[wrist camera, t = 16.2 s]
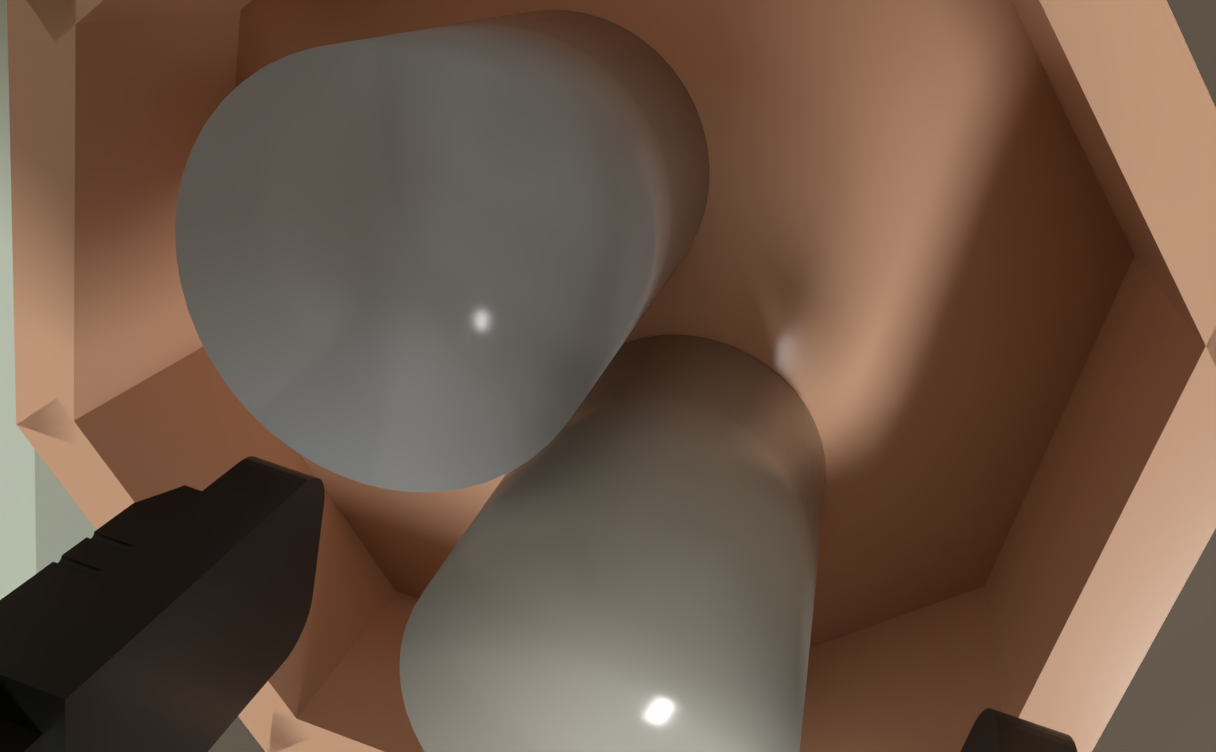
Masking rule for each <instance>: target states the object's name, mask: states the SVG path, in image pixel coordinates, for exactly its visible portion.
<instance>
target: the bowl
mask: <svg viewBox="0 0 1216 752" xmlns="http://www.w3.org/2000/svg"><path fill="white" fill-rule="evenodd" d="M540 10H568V11H575V12H581V13H587V14H590V15H593V16H596V17H600V18H603V19H606V20H608V21H610V22H612V23H615V24H617V25H619V26H621V27H623V28H625V29H627V30H628V31H630V32H631V33H633V34H635V35H636V36H638V37H639V38H641V39H642V40H644V41H645V42H646V43H647V44H648V45H649V46H651V47H652V48H653V49H654V50H655V51H657V52H658V53H659V54H660V55H661V56H662V58H663V59H664V60H665V61H666V62H667V63H668V64H669V65H670V66H671V67H672V69H673V70H674V71H675V73H676V74H677V75H678V77H679V78H680V80H681V81H682V83H683V84H684V86H685V87H686V89H687V91H688V93H689V95H690V97H691V98H692V100H693V102H694V104H695V106H696V109H697V112H698V114H699V117H700V120H701V123H702V125H703V129H704V133H705V138H706V142H707V147H708V157H709V167H710V170H709V191H708V197H707V203H706V208H705V212H704V215H703V218H702V222H701V225H700V228H699V230H698V232H697V234H696V237H695V239H694V241H693V243H692V245H691V247H690V248H689V250H688V251H687V253H686V255H685V256H684V258H683V259H682V261H681V262H680V264H679V265H678V267H677V268H676V269H675V271H674V272H673V274H672V275H671V277H670V278H669V279H668V281H667V282H666V284H665V285H664V286H663V288H662V289H661V291H660V292H659V294H658V295H657V296H656V298H655V299H654V301H653V302H652V304H651V305H650V306H649V308H648V309H647V311H646V312H645V313H644V315H643V316H642V318H641V319H640V321H639V322H638V323H637V325H636V326H635V328H634V329H633V331H632V332H631V333H630V335H629V336H628V338H627V339H626V340H625V342H624V343H628V342H631V341H634V340H637V339H641V338H647V337H653V336H659V335H687V336H698V337H703V338H707V339H712V340H716V341H719V342H722V343H725V344H728V345H731V346H734V347H736V348H738V349H740V350H742V351H744V352H746V353H748V354H751V355H753V356H754V357H756V358H757V359H759V360H760V361H762V362H763V363H765V364H766V365H768V366H769V367H771V368H772V369H773V370H774V371H775V372H776V373H778V374H779V375H780V376H781V377H782V378H784V379H785V381H786V382H787V383H788V384H789V385H790V386H791V387H792V388H793V389H794V390H795V391H796V393H797V394H798V395H799V397H800V398H801V400H802V401H803V402H804V404H805V405H806V407H807V408H808V410H809V412H810V414H811V416H812V418H813V420H814V422H815V424H816V426H817V429H818V432H819V434H820V437H821V440H822V444H823V449H824V454H825V462H826V483H825V494H824V504H823V514H822V525H821V535H820V545H819V556H818V566H817V576H816V587H815V597H814V607H813V618H812V628H811V639H810V649H809V659H808V670H807V680H806V690H805V701H804V711H803V721H802V732H801V742H800V752H960V751H961V749H962V747H963V745H964V743H965V741H966V739H967V737H968V735H969V733H970V731H971V729H972V726H973V725H974V723H975V721H976V719H977V718H978V716H979V715H980V714H981V712H982V711H984V710H985V709H987V708H991V709H994V710H997V711H1000V712H1003V713H1006V714H1009V715H1012V716H1014V717H1017V718H1020V719H1023V720H1026V721H1029V722H1032V723H1035V724H1038V725H1041V726H1044V727H1047V728H1050V729H1053V730H1056V731H1059V732H1062V733H1065V734H1067V735H1070V736H1071V737H1072V738H1073V740H1074V742H1075V745H1076V748H1077V752H1092V751H1093V749H1094V747H1095V745H1096V743H1097V742H1098V740H1099V738H1100V736H1101V734H1102V733H1103V731H1104V729H1105V727H1106V725H1107V723H1108V722H1109V720H1110V718H1111V716H1112V714H1113V713H1114V711H1115V709H1116V707H1117V705H1118V704H1119V702H1120V700H1121V698H1122V696H1123V695H1124V693H1125V691H1126V689H1127V687H1128V686H1129V684H1130V682H1131V680H1132V678H1133V676H1134V675H1135V673H1136V671H1137V669H1138V667H1139V666H1140V664H1141V662H1142V660H1143V658H1144V657H1145V655H1146V653H1147V651H1148V649H1149V648H1150V646H1151V644H1152V642H1153V640H1154V639H1155V637H1156V635H1157V633H1158V631H1159V629H1160V628H1161V626H1162V624H1163V622H1164V620H1165V619H1166V617H1167V615H1168V613H1169V611H1170V610H1171V608H1172V606H1173V604H1174V602H1175V601H1176V599H1177V597H1178V595H1179V593H1180V592H1181V590H1182V588H1183V586H1184V584H1185V582H1186V581H1187V579H1188V577H1189V575H1190V573H1191V572H1192V570H1193V568H1194V566H1195V564H1196V563H1197V561H1198V559H1199V557H1200V555H1201V554H1202V552H1203V550H1204V548H1205V546H1206V545H1207V543H1208V541H1209V539H1210V537H1211V536H1212V534H1213V532H1214V530H1215V528H1216V108H1215V106H1214V103H1213V101H1212V99H1211V97H1210V95H1209V92H1208V90H1207V88H1206V86H1205V84H1204V81H1203V79H1202V77H1201V75H1200V73H1199V70H1198V68H1197V66H1196V64H1195V62H1194V60H1193V57H1192V55H1191V53H1190V51H1189V49H1188V46H1187V44H1186V42H1185V40H1184V38H1183V35H1182V33H1181V31H1180V29H1179V27H1178V24H1177V22H1176V20H1175V18H1174V16H1173V13H1172V11H1171V9H1170V7H1169V5H1168V2H1167V0H7V24H8V70H9V116H10V162H11V208H12V253H13V299H14V345H15V391H16V425H17V426H18V428H19V429H20V430H21V432H22V433H23V434H24V435H25V437H26V438H27V439H28V441H29V442H30V443H31V445H32V446H33V447H34V449H35V450H36V451H37V453H38V454H39V455H40V456H41V458H42V459H43V460H44V462H45V463H46V464H47V466H48V467H49V468H50V470H51V471H52V472H53V474H54V475H55V476H56V477H57V479H58V480H59V481H60V483H61V484H62V485H63V487H64V488H65V489H66V491H67V492H68V493H69V495H70V496H71V497H72V499H73V500H74V501H75V502H76V504H77V505H78V506H79V508H80V509H81V510H82V512H83V513H84V514H85V516H86V517H87V518H88V520H89V521H90V522H91V523H92V525H93V526H94V527H95V529H96V530H97V529H99V528H100V527H101V526H103V525H104V524H105V523H107V522H108V521H110V520H111V519H112V518H114V517H115V516H116V515H118V514H119V513H121V512H122V511H123V510H125V509H126V508H127V507H129V506H130V505H132V504H133V503H135V502H138V501H141V500H144V499H147V498H150V497H153V496H155V495H158V494H161V493H164V492H167V491H170V490H173V489H176V488H179V487H181V486H184V485H186V486H189V487H191V488H194V489H197V490H200V491H203V490H204V489H205V488H207V487H208V486H209V485H210V484H212V483H213V482H214V481H216V480H217V479H218V478H219V477H221V476H222V475H223V474H224V473H226V472H227V471H228V470H230V469H231V468H232V467H233V466H235V465H236V464H237V463H239V462H240V461H241V460H243V459H244V458H247V457H249V456H254V457H257V458H260V459H263V460H266V461H269V462H272V463H275V464H278V465H281V466H284V467H287V468H290V469H293V470H296V471H299V472H302V473H305V474H308V475H310V476H313V477H316V478H319V479H320V480H321V481H322V482H323V484H324V489H325V501H324V509H323V517H322V526H321V534H320V542H319V550H318V558H317V566H316V574H315V582H314V590H313V598H312V604H311V608H310V612H309V615H308V618H307V621H306V624H305V626H304V629H303V631H302V633H301V636H300V638H299V640H298V642H297V643H296V645H295V647H294V649H293V650H292V652H291V653H290V655H289V656H288V658H287V659H286V660H285V661H284V663H283V664H282V665H281V666H280V667H279V669H278V670H277V671H276V672H275V673H274V674H273V676H272V677H271V678H270V679H269V680H268V681H267V683H266V684H265V685H264V686H263V687H262V688H261V690H260V691H259V692H258V693H257V694H256V695H255V697H254V698H253V699H252V700H251V701H250V702H249V704H248V705H247V706H246V707H245V708H244V709H243V711H242V712H241V713H240V714H239V715H238V717H239V718H240V719H241V720H242V722H243V723H244V724H245V726H246V727H247V728H248V730H249V731H250V732H251V734H252V735H253V736H254V738H255V739H256V740H257V741H258V743H259V744H260V745H261V747H262V748H263V749H264V751H265V752H424V750H423V748H422V746H421V744H420V742H419V740H418V738H417V737H416V735H415V733H414V731H413V728H412V725H411V723H410V720H409V717H408V715H407V712H406V709H405V704H404V700H403V695H402V691H401V682H400V670H399V665H400V651H401V644H402V640H403V635H404V631H405V627H406V624H407V622H408V620H409V617H410V615H411V612H412V610H413V608H414V606H415V604H416V603H417V601H418V600H419V598H420V597H421V595H422V593H423V592H424V590H425V589H426V587H427V586H428V584H429V583H430V582H431V580H432V579H433V577H434V576H435V574H436V573H437V572H438V570H439V569H440V567H441V566H442V564H443V563H444V562H445V560H446V559H447V557H448V556H449V555H450V553H451V552H452V550H453V549H454V547H455V546H456V545H457V543H458V542H459V540H460V539H461V537H462V536H463V535H464V533H465V532H466V530H467V529H468V527H469V526H470V525H471V523H472V522H473V520H474V519H475V517H476V516H477V515H478V513H479V512H480V510H481V509H482V507H483V506H484V505H485V503H486V502H487V500H488V499H489V497H490V496H491V495H492V493H493V492H494V490H495V489H496V488H497V486H498V485H499V483H500V482H501V480H502V479H503V478H504V476H505V475H506V474H504V475H502V476H500V477H497V478H495V479H493V480H491V481H488V482H486V483H482V484H478V485H475V486H471V487H467V488H464V489H458V490H450V491H443V492H406V491H398V490H390V489H384V488H380V487H376V486H372V485H368V484H364V483H360V482H357V481H355V480H352V479H349V478H347V477H344V476H341V475H339V474H336V473H334V472H332V471H330V470H328V469H326V468H324V467H322V466H320V465H318V464H316V463H314V462H312V461H310V460H309V459H307V458H306V457H304V456H302V455H301V454H299V453H298V452H296V451H295V450H293V449H292V448H290V447H289V446H287V445H286V444H285V443H283V442H282V441H281V440H280V439H279V438H277V437H276V436H275V435H274V434H272V433H271V432H270V431H269V430H267V429H266V428H265V427H264V426H263V425H262V424H261V423H260V422H259V421H258V420H257V419H256V418H255V417H254V416H253V415H252V414H251V413H250V412H249V411H248V410H247V409H246V408H245V407H244V406H243V404H242V403H241V402H240V401H239V399H238V398H237V397H236V396H235V395H234V393H233V392H232V391H231V390H230V388H229V387H228V386H227V384H226V383H225V381H224V380H223V378H222V377H221V375H220V374H219V372H218V371H217V369H216V368H215V366H214V365H213V363H212V362H211V360H210V358H209V356H208V354H207V352H206V350H205V348H204V346H203V344H202V342H201V341H200V339H199V337H198V334H197V332H196V329H195V327H194V324H193V321H192V319H191V316H190V314H189V311H188V308H187V304H186V301H185V297H184V294H183V290H182V286H181V282H180V276H179V270H178V264H177V257H176V238H175V222H176V210H177V199H178V194H179V190H180V185H181V180H182V176H183V172H184V169H185V166H186V164H187V161H188V158H189V155H190V152H191V150H192V147H193V145H194V143H195V142H196V140H197V138H198V136H199V134H200V132H201V130H202V128H203V127H204V125H205V123H206V122H207V120H208V119H209V118H210V116H211V115H212V114H213V112H214V111H215V110H216V108H217V107H218V106H219V104H220V103H221V102H222V101H223V100H224V99H225V98H226V97H227V96H228V95H229V94H230V93H231V92H232V91H233V90H234V89H235V88H236V87H237V86H238V85H239V84H240V83H242V82H243V81H244V80H246V79H247V78H249V77H250V76H252V75H253V74H254V73H256V72H257V71H259V70H260V69H261V68H263V67H265V66H267V65H269V64H271V63H273V62H275V61H277V60H279V59H281V58H283V57H286V56H288V55H291V54H294V53H297V52H301V51H304V50H307V49H311V48H314V47H319V46H325V45H331V44H337V43H343V42H349V41H355V40H361V39H368V38H374V37H380V36H386V35H392V34H398V33H404V32H410V31H416V30H422V29H428V28H434V27H440V26H447V25H453V24H459V23H465V22H471V21H477V20H483V19H489V18H495V17H501V16H507V15H513V14H520V13H526V12H533V11H540ZM624 343H623V344H624Z"/></svg>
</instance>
